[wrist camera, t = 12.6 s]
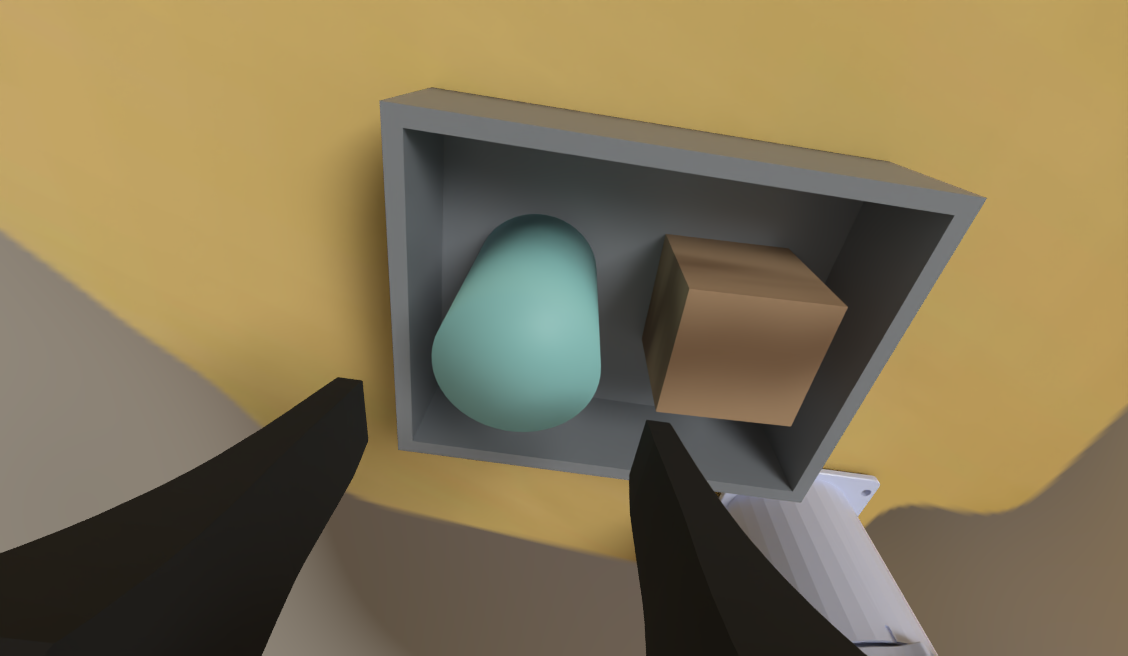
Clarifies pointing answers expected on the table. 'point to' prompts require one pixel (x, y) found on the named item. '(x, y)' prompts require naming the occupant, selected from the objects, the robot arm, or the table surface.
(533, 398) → the teal cylinder
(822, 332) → the walnut cube
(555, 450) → the tote
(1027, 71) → the table surface
